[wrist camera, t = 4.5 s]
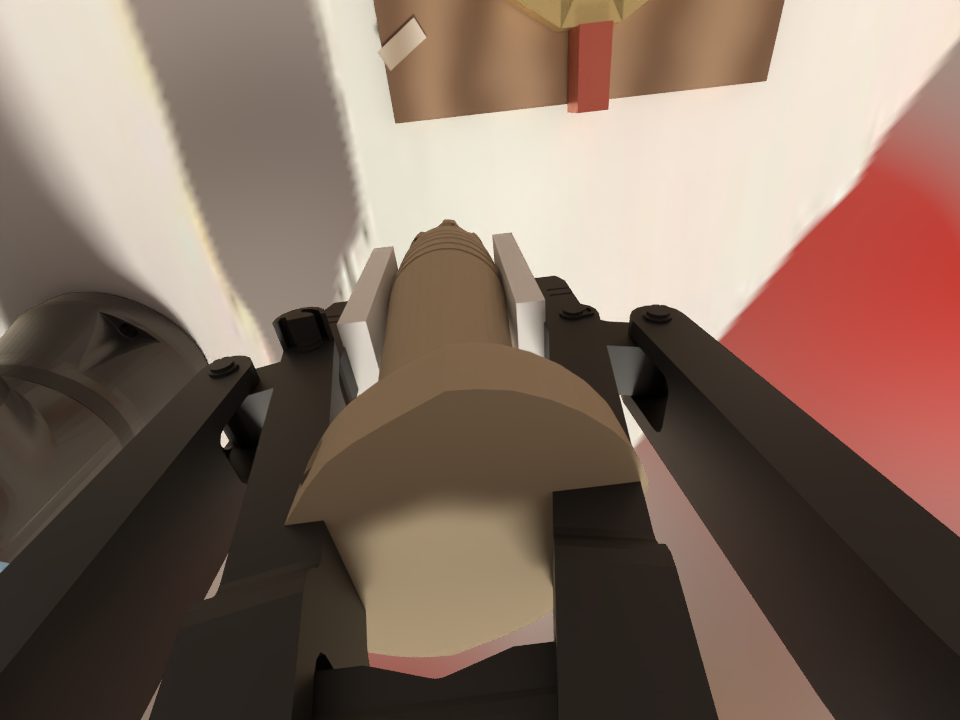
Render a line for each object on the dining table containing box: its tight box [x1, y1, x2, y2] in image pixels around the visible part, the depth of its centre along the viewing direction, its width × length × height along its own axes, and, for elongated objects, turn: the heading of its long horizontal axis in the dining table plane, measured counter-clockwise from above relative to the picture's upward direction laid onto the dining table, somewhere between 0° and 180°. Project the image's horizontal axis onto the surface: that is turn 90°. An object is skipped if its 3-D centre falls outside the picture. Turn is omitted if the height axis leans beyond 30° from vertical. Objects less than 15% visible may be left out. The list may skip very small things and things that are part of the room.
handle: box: [285, 220, 649, 657], centre depth 13 cm, size 5×6×15 cm
